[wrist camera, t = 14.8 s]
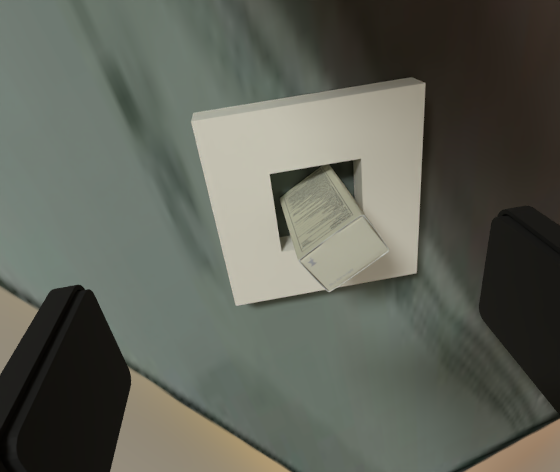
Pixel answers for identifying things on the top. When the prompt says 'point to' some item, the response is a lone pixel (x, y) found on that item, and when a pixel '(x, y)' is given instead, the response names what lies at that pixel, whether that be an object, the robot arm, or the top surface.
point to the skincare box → (330, 229)
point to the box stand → (308, 153)
